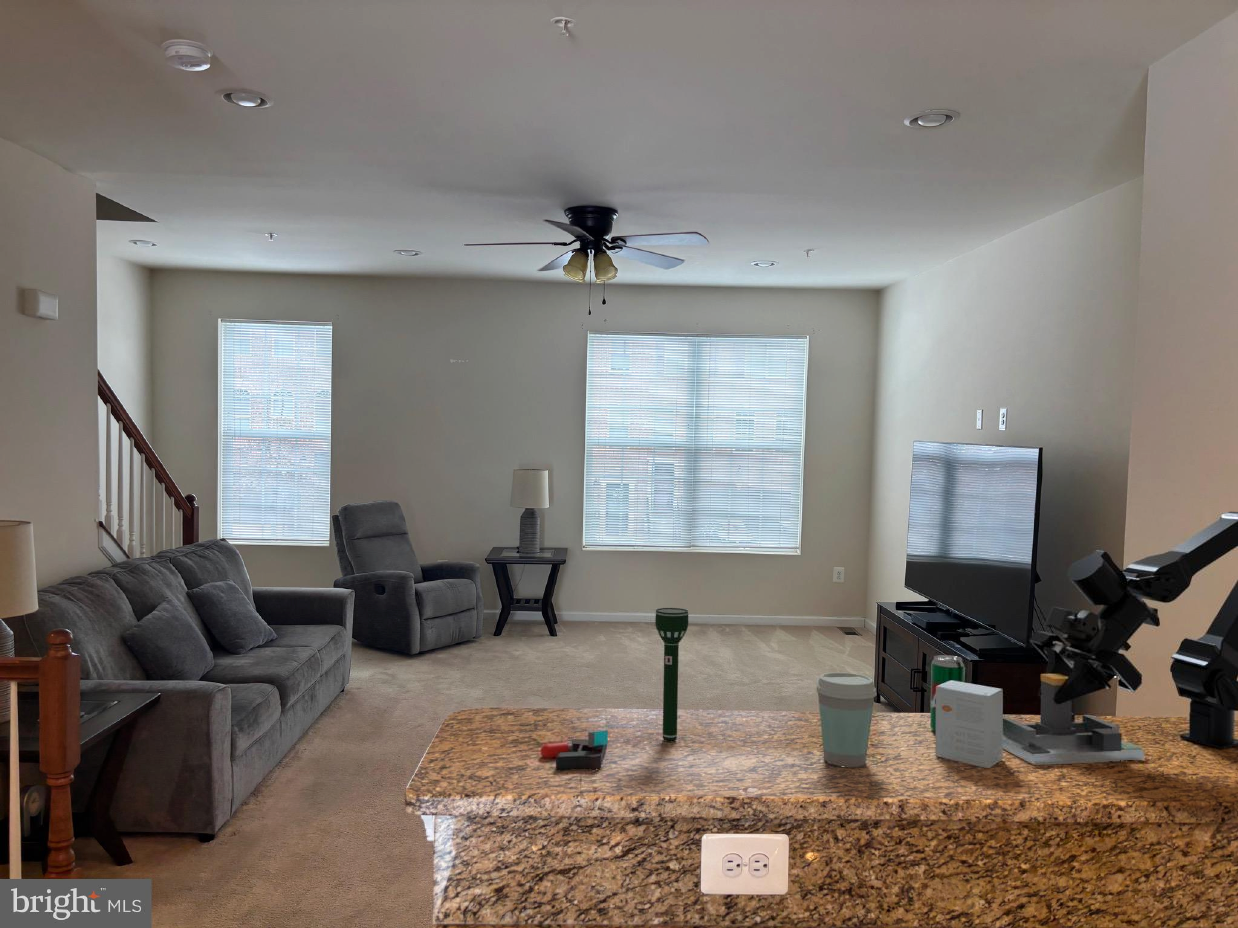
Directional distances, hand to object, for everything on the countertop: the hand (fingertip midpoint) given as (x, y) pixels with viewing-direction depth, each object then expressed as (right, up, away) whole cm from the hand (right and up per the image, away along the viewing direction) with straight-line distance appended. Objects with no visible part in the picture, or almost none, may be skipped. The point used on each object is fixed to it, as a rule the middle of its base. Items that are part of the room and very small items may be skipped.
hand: (1047, 699), depth 134 cm
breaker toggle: (+1, -6, 0) cm, 6 cm away
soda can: (-12, -8, +8) cm, 17 cm away
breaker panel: (+2, -8, 0) cm, 8 cm away
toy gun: (-72, -7, -8) cm, 73 cm away
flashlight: (-58, -7, +1) cm, 58 cm away
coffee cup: (-33, -7, -7) cm, 35 cm away
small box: (-14, -8, -5) cm, 17 cm away
